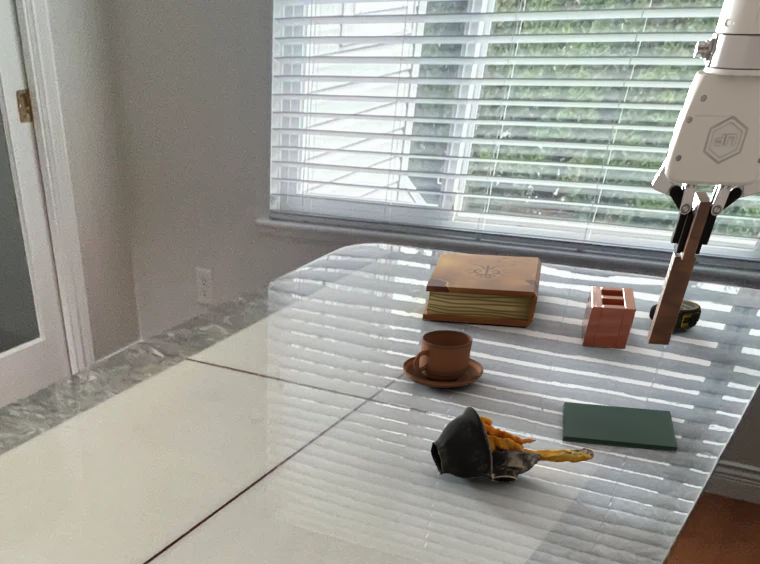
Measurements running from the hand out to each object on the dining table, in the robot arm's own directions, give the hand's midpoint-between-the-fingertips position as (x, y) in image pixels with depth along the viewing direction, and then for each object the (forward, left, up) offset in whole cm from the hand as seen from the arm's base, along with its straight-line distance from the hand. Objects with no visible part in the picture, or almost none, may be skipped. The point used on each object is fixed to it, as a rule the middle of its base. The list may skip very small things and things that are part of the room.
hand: (686, 249), depth 100 cm
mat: (+2, +1, -22) cm, 22 cm away
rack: (+3, -37, -22) cm, 43 cm away
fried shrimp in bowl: (+16, +20, -22) cm, 34 cm away
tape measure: (-8, -43, -22) cm, 49 cm away
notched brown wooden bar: (0, 0, -11) cm, 11 cm away
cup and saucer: (+27, -11, -22) cm, 36 cm away
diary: (+24, -50, -22) cm, 60 cm away
